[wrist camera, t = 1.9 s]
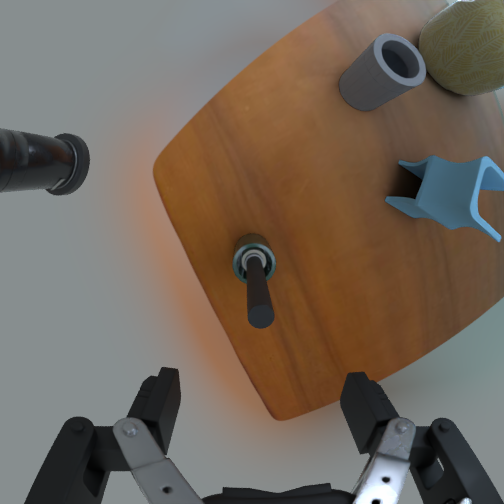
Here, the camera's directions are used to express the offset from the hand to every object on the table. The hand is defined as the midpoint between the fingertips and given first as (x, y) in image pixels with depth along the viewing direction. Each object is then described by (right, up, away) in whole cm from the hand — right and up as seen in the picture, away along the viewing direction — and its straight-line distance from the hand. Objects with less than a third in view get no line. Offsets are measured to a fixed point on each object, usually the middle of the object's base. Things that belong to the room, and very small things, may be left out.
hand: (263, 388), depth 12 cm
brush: (0, +6, +31) cm, 31 cm away
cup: (+17, +33, +26) cm, 45 cm away
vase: (+38, +44, +24) cm, 63 cm away
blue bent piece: (+26, +17, +30) cm, 43 cm away
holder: (0, +6, +31) cm, 32 cm away
